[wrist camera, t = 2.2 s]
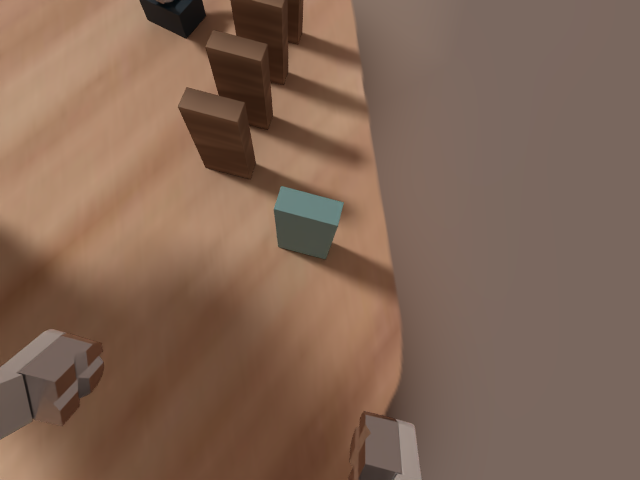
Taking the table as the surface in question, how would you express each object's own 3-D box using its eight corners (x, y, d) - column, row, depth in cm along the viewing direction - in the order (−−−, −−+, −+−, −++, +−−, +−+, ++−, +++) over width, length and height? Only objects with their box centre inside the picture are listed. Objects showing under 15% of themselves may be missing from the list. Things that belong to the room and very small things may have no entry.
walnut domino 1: (283, 85, 43) (281, 8, 33) (243, 74, 43) (229, -6, 33) (288, 72, 43) (287, -8, 34) (248, 61, 43) (236, -21, 34)
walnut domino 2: (267, 129, 41) (260, 61, 31) (225, 118, 41) (205, 46, 31) (272, 115, 41) (267, 44, 32) (230, 104, 41) (213, 29, 32)
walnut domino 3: (250, 179, 39) (237, 122, 29) (205, 167, 39) (177, 106, 29) (255, 163, 39) (244, 102, 30) (211, 151, 39) (186, 87, 30)
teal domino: (325, 259, 37) (337, 225, 27) (278, 246, 37) (273, 209, 27) (330, 241, 37) (343, 202, 28) (283, 229, 37) (281, 185, 28)
